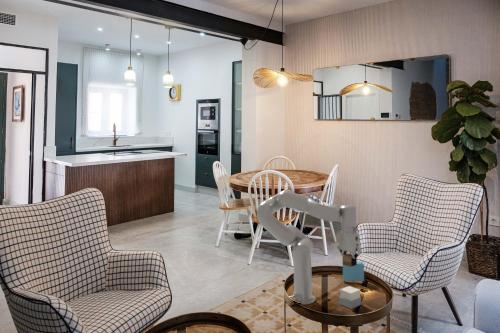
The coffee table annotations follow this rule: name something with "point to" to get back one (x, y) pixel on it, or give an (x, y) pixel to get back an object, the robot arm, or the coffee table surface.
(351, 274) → the data package
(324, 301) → the coffee table surface
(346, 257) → the walnut cube
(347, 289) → the tower top
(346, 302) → the tower base
